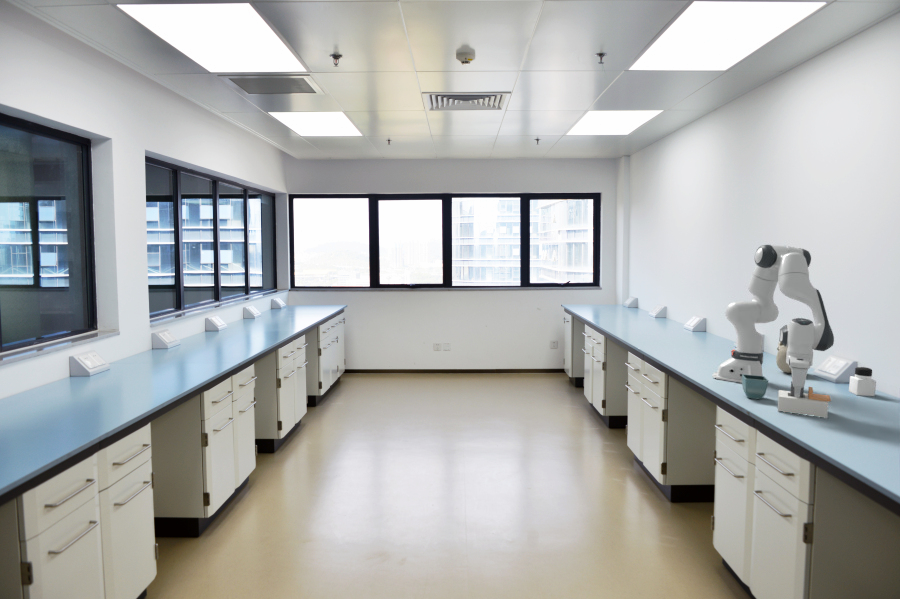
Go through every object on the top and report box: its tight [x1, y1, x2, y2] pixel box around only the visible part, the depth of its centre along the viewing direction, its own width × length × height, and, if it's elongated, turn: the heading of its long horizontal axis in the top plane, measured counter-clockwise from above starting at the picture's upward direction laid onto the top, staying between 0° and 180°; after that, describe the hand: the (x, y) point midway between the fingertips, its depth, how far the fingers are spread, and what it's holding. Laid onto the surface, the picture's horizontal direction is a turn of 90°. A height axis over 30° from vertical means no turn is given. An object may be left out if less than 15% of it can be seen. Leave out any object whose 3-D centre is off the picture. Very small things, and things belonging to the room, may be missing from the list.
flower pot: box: [741, 375, 769, 400], centre depth 233 cm, size 9×9×9 cm
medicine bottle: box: [848, 366, 877, 397], centre depth 241 cm, size 7×7×12 cm
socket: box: [777, 389, 829, 419], centre depth 214 cm, size 16×12×6 cm
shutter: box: [807, 386, 832, 403], centre depth 210 cm, size 7×7×3 cm
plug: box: [790, 380, 805, 398], centre depth 214 cm, size 4×4×12 cm
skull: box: [775, 342, 792, 374], centre depth 280 cm, size 13×15×20 cm
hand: (796, 394), depth 214 cm, fingers open, 8 cm apart
